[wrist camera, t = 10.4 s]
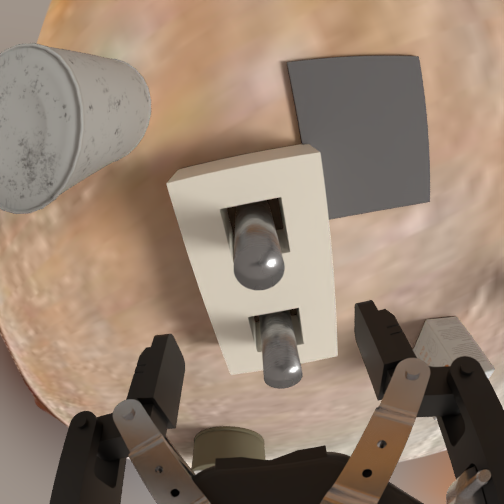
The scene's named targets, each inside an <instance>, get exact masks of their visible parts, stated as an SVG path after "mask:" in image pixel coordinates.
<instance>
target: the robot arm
mask: <svg viewBox="0 0 504 504" xmlns="http://www.w3.org/2000/svg"><path fill="white" fill-rule="evenodd" d="M354 330H355V338H356V342H357V345H358V347H359V350H360V353H361V355H362V358H363V361H364V363H365V366H366V369H367V372H368V374H369V377H370V380H371V383H372V385H373V388H374V391H375V394H376V397H377V400H382V401H381V403H380V405H379V407H378V408H376V409H375V411H374V413H373V415H372V417H371V419H370V421H369V423H368V425H367V427H366V429H365V431H364V433H363V435H362V437H361V438H360V440H359V442H358V444H357V446H356V448H355V450H354V451H353V453H352V455H351V457H350V456H348V455H345V454H341V453H336V452H326V446H320V447H314V448H309V449H303V450H297V451H295V452H292V453H289V454H287V455H284V456H281V457H279V458H276V459H273V460H262V459H254V458H246V457H233V458H216V459H215V465H214V466H211V467H209V468H206V469H204V470H202V471H200V472H199V473H197V474H195V473H194V472H193V471H192V469H191V468H190V467H189V466H188V465H187V463H186V462H185V461H184V459H183V458H182V457H181V455H180V454H179V453H178V451H177V450H176V449H175V447H174V446H173V444H172V443H171V442H170V440H169V439H168V437H167V436H166V431H167V429H172V428H176V423H177V417H178V410H179V403H180V397H181V391H182V385H183V379H184V373H185V362H184V358H183V355H182V353H181V351H180V349H179V347H178V345H177V343H176V341H175V339H174V336H173V335H172V334H164V335H156V336H154V339H153V342H152V345H151V347H147V348H146V349H145V350H144V351H143V352H142V354H141V355H140V357H139V360H138V363H137V367H136V369H135V374H134V376H133V379H132V382H131V386H130V389H129V393H128V396H127V399H126V400H124V401H122V402H121V403H119V404H118V405H117V406H116V407H115V409H114V411H113V413H111V414H107V415H104V416H100V417H96V416H95V415H94V414H93V413H92V412H90V411H83V412H80V413H78V414H77V415H75V416H74V417H73V419H72V420H71V423H70V426H69V429H68V432H67V436H66V439H65V443H64V446H63V450H62V454H61V457H60V461H59V466H58V469H57V473H56V477H55V481H54V485H53V490H52V495H51V500H50V504H120V502H121V494H122V486H123V479H124V472H125V465H126V458H127V457H129V458H130V460H131V462H132V463H133V465H134V467H135V469H136V470H137V472H138V474H139V475H140V477H141V479H142V481H143V482H144V484H145V486H146V487H147V489H148V491H149V492H150V494H151V495H152V497H153V498H154V500H155V501H156V503H157V504H423V503H422V502H420V501H418V500H417V499H415V498H414V497H412V496H410V495H409V494H407V493H406V492H404V491H403V490H401V489H399V488H398V487H396V486H395V485H393V484H392V483H390V482H389V480H390V478H391V476H392V474H393V471H394V469H395V467H396V465H397V463H398V461H399V459H400V456H401V454H402V452H403V449H404V447H405V445H406V442H407V440H408V437H409V435H410V432H411V430H412V427H413V425H414V422H415V419H416V417H433V416H436V418H437V421H438V424H439V427H440V430H441V433H442V436H443V439H444V442H445V445H446V448H447V451H448V454H449V457H450V460H451V463H452V467H453V470H454V474H455V477H456V481H454V482H453V483H452V484H451V486H450V487H449V489H448V491H447V495H446V500H447V504H504V410H503V408H502V405H501V403H500V401H499V399H498V397H497V395H496V393H495V391H494V389H493V387H492V385H491V383H490V381H489V380H488V378H487V376H486V374H485V372H484V370H483V368H482V366H481V365H480V363H479V362H478V361H477V360H476V359H474V358H472V357H468V356H462V357H459V358H456V359H455V360H454V361H453V362H452V364H451V366H444V367H432V366H428V364H427V363H426V362H424V361H423V360H421V359H418V358H417V357H416V355H415V353H414V351H413V349H412V348H411V346H410V344H409V342H408V340H407V338H406V336H405V335H404V333H403V332H402V329H401V327H400V326H399V324H398V322H397V320H396V318H395V316H394V315H393V314H391V313H390V312H389V311H387V310H386V309H383V310H379V311H378V310H377V308H376V306H375V304H374V302H373V301H372V300H370V301H365V302H361V303H356V304H355V327H354Z"/></svg>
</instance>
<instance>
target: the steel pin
mask: <svg viewBox="0 0 504 504" xmlns="http://www.w3.org/2000/svg"><path fill="white" fill-rule="evenodd" d="M284 270H285V265H284V261H283V257H282V253H281V249H280V245H279V241H278V237H277V233H276V229H275V225H274V221H273V217H272V213H271V209H270V206H269V203H268V202H267V200H263V201H257V202H252V203H247V204H242V205H237V207H236V218H235V243H234V275H235V277H236V279H237V281H238V282H239V283H240V284H241V285H242V286H244V287H246V288H248V289H251V290H266V289H269V288H271V287H273V286H275V285H276V284H277V283H278V282H279V281H280V280H281V278H282V277H283V274H284Z"/></svg>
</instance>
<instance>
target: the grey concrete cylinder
mask: <svg viewBox="0 0 504 504" xmlns="http://www.w3.org/2000/svg"><path fill="white" fill-rule="evenodd" d="M150 115H151V98H150V93H149V88H148V86H147V84H146V82H145V80H144V78H143V77H142V76H141V74H140V73H139V72H138V71H137V70H136V69H135V68H134V67H132V66H131V65H129V64H128V63H126V62H123V61H120V60H117V59H109V58H104V57H100V56H95V55H91V54H86V53H81V52H75V51H70V50H64V49H58V48H52V47H47V46H44V45H40V44H36V43H28V44H19V45H16V46H13V47H11V48H9V49H6V50H4V51H3V52H1V53H0V209H1V210H3V211H7V212H11V213H15V214H24V213H32V212H34V211H37V210H40V209H43V208H44V207H45V206H47V205H48V204H49V203H51V202H52V201H54V200H55V199H56V198H57V197H58V196H59V195H60V194H62V193H63V192H65V191H66V190H68V189H69V188H71V187H72V186H74V185H75V184H77V183H79V182H80V181H82V180H83V179H85V178H87V177H88V176H90V175H92V174H93V173H95V172H97V171H98V170H100V169H102V168H103V167H105V166H107V165H108V164H110V163H112V162H115V161H118V160H119V159H121V158H123V157H124V156H126V155H128V154H129V153H130V152H131V151H132V150H133V149H134V148H135V147H136V146H137V145H138V143H139V142H140V141H141V139H142V138H143V136H144V134H145V132H146V129H147V127H148V125H149V120H150Z"/></svg>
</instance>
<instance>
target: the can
mask: <svg viewBox="0 0 504 504" xmlns="http://www.w3.org/2000/svg"><path fill="white" fill-rule="evenodd" d="M233 457H246V458H254V459H262V460H265V449H264V439H263V438H262V436H261V435H259V434H258V433H256V432H254V431H252V430H249V429H245V428H240V427H230V426H223V427H214V428H209V429H206V430H203V431H201V432H199V433H198V434H197V435H196V436H195V439H194V450H193V460H192V468H191V469H192V471H193V472H194V473H195V474H197V473H199V472H200V471H202V470H204V469H206V468H209V467H211V466H214V465H215V459H216V458H233Z"/></svg>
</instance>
